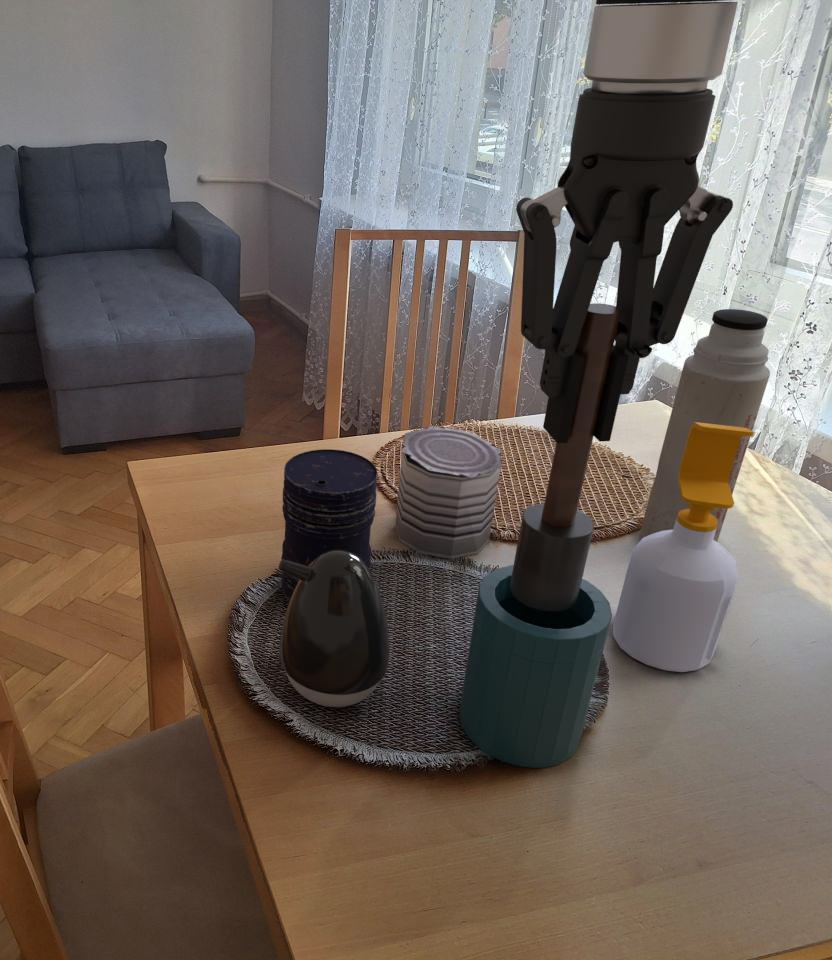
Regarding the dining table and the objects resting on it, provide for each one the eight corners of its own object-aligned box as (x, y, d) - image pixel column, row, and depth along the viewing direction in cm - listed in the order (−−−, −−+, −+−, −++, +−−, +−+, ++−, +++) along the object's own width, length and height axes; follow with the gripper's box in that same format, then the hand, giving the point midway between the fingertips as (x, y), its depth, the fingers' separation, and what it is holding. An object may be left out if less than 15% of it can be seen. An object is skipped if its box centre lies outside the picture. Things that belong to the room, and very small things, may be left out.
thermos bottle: (725, 542, 102) (798, 313, 88) (697, 569, 97) (770, 332, 84) (657, 517, 107) (716, 298, 94) (627, 541, 103) (685, 315, 89)
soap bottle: (613, 662, 84) (673, 437, 72) (610, 608, 91) (664, 396, 80) (717, 683, 81) (797, 452, 69) (705, 626, 88) (776, 408, 77)
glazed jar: (552, 683, 82) (579, 561, 75) (599, 765, 73) (634, 636, 66) (445, 687, 82) (463, 566, 75) (480, 770, 73) (503, 642, 66)
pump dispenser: (277, 649, 88) (279, 522, 80) (380, 653, 86) (392, 525, 79) (275, 721, 79) (278, 586, 71) (390, 727, 78) (405, 591, 70)
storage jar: (298, 554, 102) (301, 442, 95) (379, 573, 99) (389, 458, 91) (267, 600, 95) (268, 482, 87) (354, 623, 91) (363, 501, 84)
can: (438, 500, 112) (448, 417, 107) (509, 538, 104) (525, 450, 98) (374, 528, 107) (381, 442, 101) (444, 570, 99) (456, 479, 93)
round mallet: (561, 572, 73) (621, 295, 61) (588, 610, 68) (658, 319, 56) (500, 575, 73) (549, 298, 61) (522, 613, 68) (579, 322, 56)
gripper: (738, 76, 55) (654, 409, 67) (499, 84, 55) (456, 416, 67) (815, 85, 49) (707, 453, 60) (544, 95, 49) (488, 461, 60)
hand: (575, 433), depth 63 cm, fingers closed on round mallet, 2 cm apart
